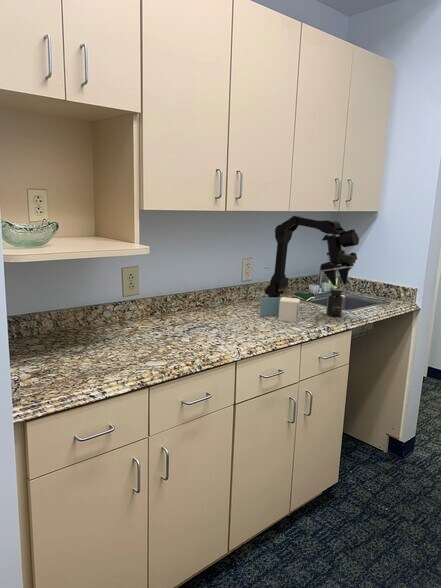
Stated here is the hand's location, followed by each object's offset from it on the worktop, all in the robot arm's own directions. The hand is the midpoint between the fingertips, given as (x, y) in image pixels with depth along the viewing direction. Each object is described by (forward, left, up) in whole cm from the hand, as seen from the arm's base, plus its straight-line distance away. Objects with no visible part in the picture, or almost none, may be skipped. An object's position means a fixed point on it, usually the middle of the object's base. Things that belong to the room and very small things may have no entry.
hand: (340, 285), depth 196 cm
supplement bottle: (-8, +2, -16) cm, 18 cm away
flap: (-6, -29, -15) cm, 33 cm away
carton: (0, -22, -15) cm, 27 cm away
